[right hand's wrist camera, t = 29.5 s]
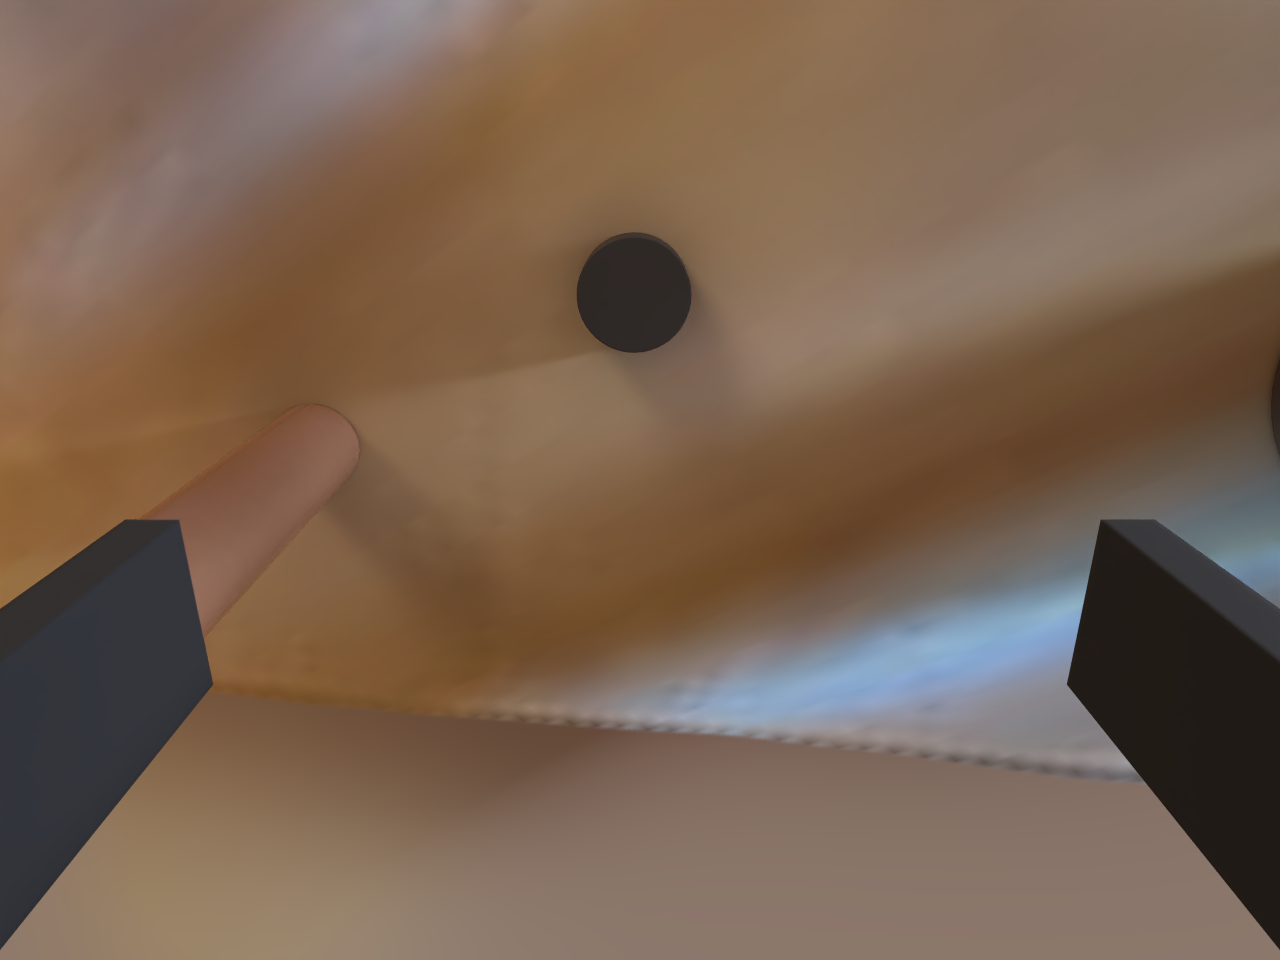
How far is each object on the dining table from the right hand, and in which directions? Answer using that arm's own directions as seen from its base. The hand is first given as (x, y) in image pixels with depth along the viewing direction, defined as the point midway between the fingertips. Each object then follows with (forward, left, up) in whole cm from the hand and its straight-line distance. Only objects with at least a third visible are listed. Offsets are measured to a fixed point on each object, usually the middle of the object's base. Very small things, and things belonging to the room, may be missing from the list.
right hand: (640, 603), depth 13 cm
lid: (0, 0, -28) cm, 28 cm away
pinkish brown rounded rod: (+3, +18, -30) cm, 35 cm away
